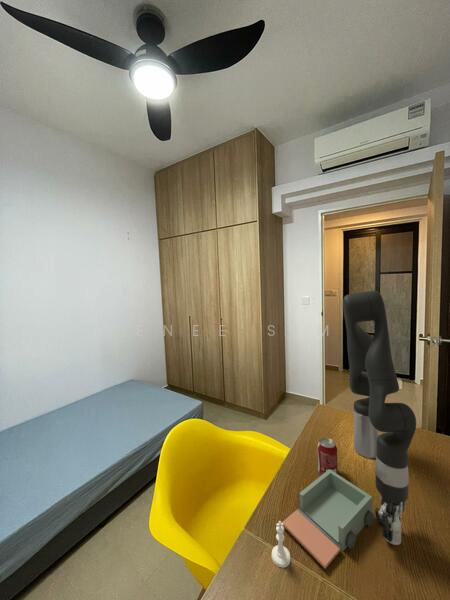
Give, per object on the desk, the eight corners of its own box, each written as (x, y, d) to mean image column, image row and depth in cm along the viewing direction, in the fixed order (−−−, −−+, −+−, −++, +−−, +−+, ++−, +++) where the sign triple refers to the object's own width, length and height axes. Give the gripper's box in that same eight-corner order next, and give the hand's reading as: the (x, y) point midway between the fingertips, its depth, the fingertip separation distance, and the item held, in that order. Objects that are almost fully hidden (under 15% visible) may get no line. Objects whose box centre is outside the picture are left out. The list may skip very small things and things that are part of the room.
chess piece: (269, 548, 67) (268, 514, 67) (286, 545, 68) (285, 511, 67) (274, 569, 62) (273, 532, 62) (293, 566, 63) (292, 529, 62)
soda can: (339, 481, 88) (339, 449, 87) (319, 478, 90) (318, 447, 89) (335, 467, 95) (334, 437, 94) (316, 465, 96) (315, 435, 95)
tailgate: (298, 507, 77) (282, 522, 72) (341, 546, 65) (325, 565, 61) (298, 510, 77) (282, 525, 73) (341, 549, 65) (325, 569, 61)
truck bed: (326, 484, 87) (326, 467, 87) (376, 519, 74) (376, 499, 73) (296, 509, 78) (296, 490, 78) (347, 555, 65) (347, 532, 64)
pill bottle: (383, 526, 72) (383, 501, 71) (401, 535, 69) (401, 509, 68) (381, 539, 68) (381, 512, 68) (400, 549, 66) (400, 522, 65)
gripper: (387, 456, 74) (387, 509, 76) (364, 479, 66) (364, 538, 68) (418, 471, 68) (417, 528, 69) (395, 498, 60) (395, 563, 61)
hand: (391, 532), depth 68 cm, fingers closed on pill bottle, 4 cm apart
